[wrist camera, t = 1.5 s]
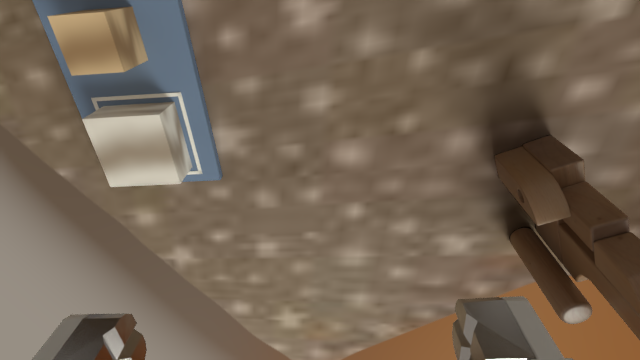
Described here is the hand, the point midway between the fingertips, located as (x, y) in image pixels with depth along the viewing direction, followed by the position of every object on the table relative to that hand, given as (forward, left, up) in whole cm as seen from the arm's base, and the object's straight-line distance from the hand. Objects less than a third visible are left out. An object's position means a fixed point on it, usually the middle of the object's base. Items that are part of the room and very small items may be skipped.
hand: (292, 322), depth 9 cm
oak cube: (-3, -20, -32) cm, 38 cm away
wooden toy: (+19, +25, -33) cm, 45 cm away
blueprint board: (+3, -20, -33) cm, 39 cm away
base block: (+8, -20, -32) cm, 39 cm away
